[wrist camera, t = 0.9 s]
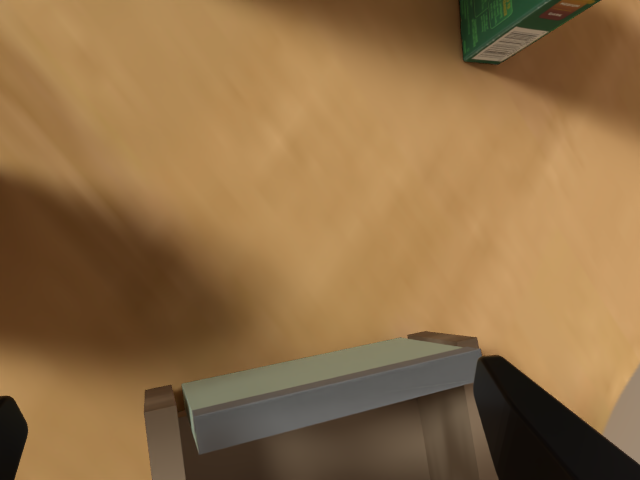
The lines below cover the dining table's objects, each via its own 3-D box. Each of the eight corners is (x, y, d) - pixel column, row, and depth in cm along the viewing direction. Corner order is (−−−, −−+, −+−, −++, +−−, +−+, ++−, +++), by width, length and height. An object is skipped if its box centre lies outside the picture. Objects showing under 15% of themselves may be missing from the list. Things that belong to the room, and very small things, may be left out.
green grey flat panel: (403, 359, 23) (485, 379, 17) (184, 409, 20) (198, 454, 14) (400, 336, 23) (480, 348, 18) (181, 382, 20) (194, 416, 14)
